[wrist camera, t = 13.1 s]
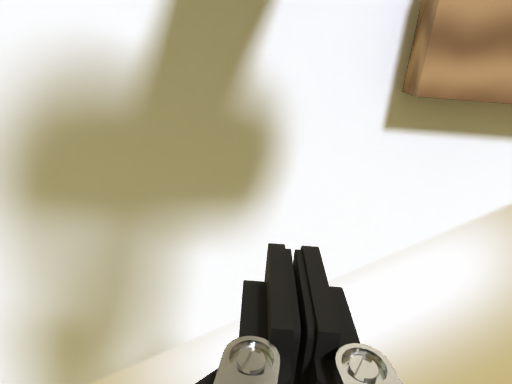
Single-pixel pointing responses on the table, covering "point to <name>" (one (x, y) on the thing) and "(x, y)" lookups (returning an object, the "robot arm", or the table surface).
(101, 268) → the table surface
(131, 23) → the table surface
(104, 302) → the table surface
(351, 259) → the table surface
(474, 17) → the brown wooden slab
